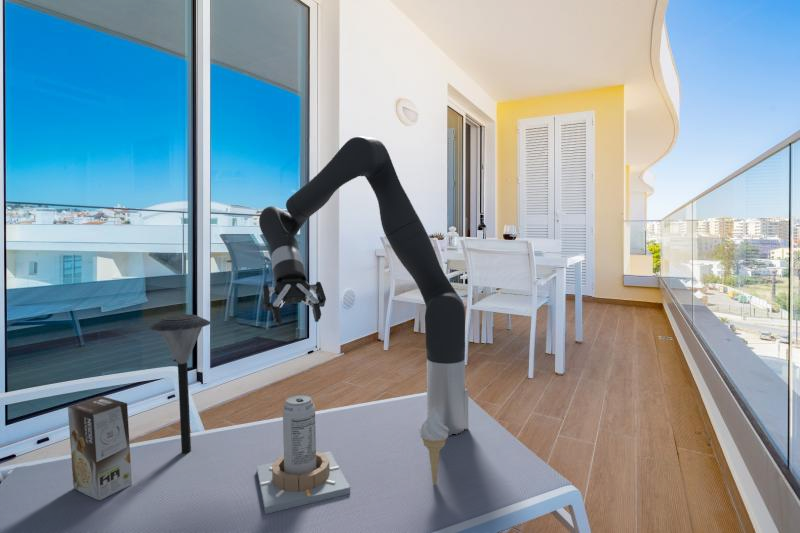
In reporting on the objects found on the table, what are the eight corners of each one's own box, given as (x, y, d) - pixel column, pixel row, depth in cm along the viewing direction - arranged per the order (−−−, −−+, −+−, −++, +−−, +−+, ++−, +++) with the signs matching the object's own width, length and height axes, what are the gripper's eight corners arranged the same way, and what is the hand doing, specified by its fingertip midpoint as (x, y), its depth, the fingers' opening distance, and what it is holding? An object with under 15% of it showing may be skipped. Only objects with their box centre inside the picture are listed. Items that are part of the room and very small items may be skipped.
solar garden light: (216, 458, 95) (210, 319, 93) (151, 470, 91) (144, 324, 89) (216, 435, 107) (211, 310, 105) (158, 444, 102) (151, 314, 100)
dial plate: (330, 456, 96) (329, 439, 95) (350, 493, 82) (349, 473, 82) (256, 471, 90) (256, 453, 90) (265, 514, 76) (264, 493, 76)
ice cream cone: (429, 495, 81) (429, 414, 80) (414, 480, 86) (413, 404, 85) (455, 487, 83) (455, 408, 82) (439, 473, 88) (438, 399, 87)
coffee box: (134, 484, 86) (129, 402, 85) (98, 502, 80) (93, 414, 79) (106, 473, 90) (101, 395, 89) (70, 489, 84) (65, 406, 83)
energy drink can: (310, 464, 90) (308, 391, 89) (321, 478, 85) (319, 400, 84) (280, 472, 87) (278, 397, 86) (289, 487, 82) (287, 407, 81)
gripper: (259, 259, 106) (267, 314, 96) (318, 257, 112) (332, 309, 102) (257, 279, 111) (265, 334, 101) (314, 276, 117) (326, 327, 107)
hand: (298, 321), depth 102 cm, fingers open, 8 cm apart
